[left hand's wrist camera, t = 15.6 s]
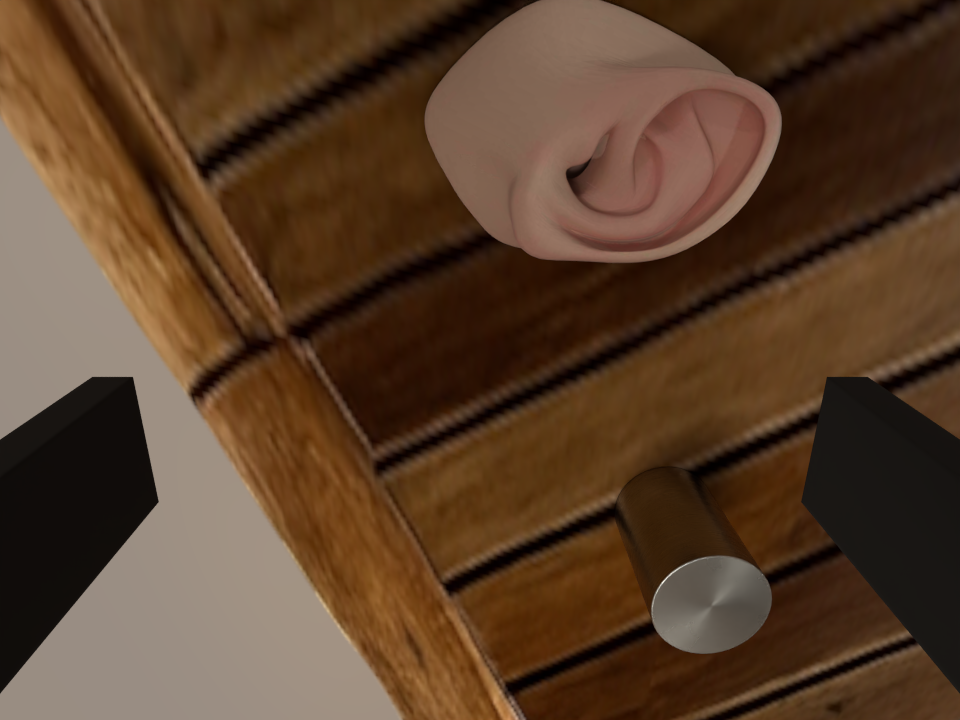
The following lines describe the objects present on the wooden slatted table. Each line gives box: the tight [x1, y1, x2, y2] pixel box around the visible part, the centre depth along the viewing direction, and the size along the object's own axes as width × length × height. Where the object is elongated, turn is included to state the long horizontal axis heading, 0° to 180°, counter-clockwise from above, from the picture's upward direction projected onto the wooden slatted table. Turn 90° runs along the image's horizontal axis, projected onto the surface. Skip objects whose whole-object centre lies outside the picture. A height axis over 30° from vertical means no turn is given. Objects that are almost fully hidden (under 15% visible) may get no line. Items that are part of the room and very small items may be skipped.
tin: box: [615, 467, 772, 654], centre depth 32 cm, size 5×5×8 cm
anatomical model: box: [425, 0, 782, 263], centre depth 27 cm, size 13×4×12 cm
